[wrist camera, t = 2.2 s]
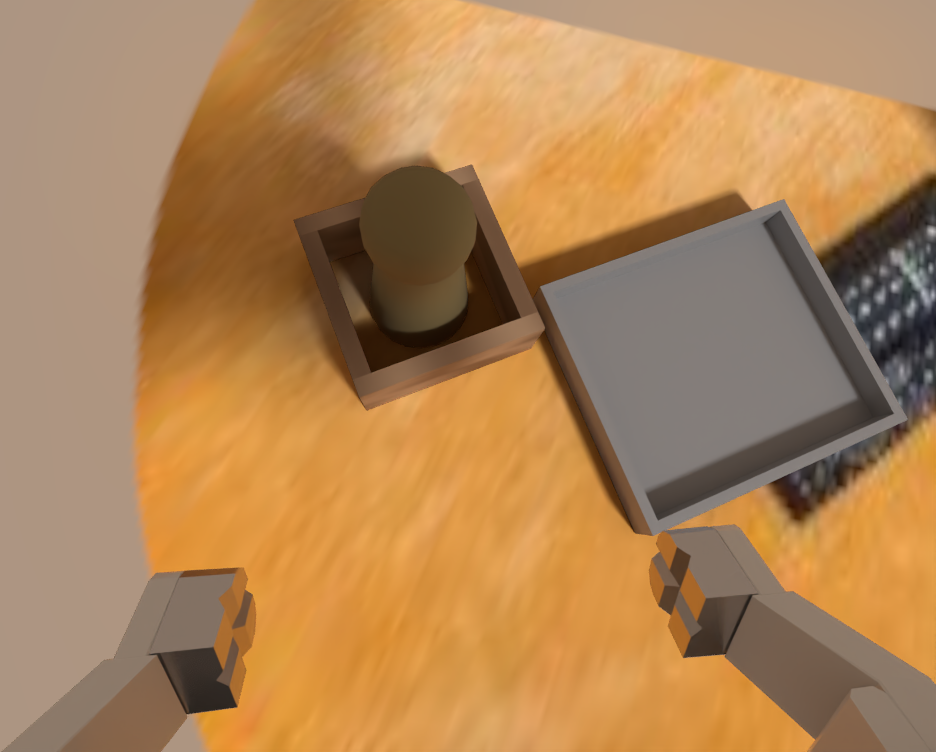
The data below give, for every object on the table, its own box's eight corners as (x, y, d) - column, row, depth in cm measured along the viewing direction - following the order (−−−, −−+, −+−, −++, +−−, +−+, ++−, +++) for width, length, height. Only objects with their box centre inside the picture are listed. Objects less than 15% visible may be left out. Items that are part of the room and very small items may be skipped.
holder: (466, 201, 35) (472, 164, 31) (530, 348, 33) (545, 328, 29) (308, 252, 33) (293, 219, 29) (366, 410, 32) (359, 397, 28)
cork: (385, 244, 34) (369, 125, 23) (478, 269, 34) (505, 164, 23) (356, 333, 32) (325, 250, 22) (454, 359, 33) (470, 290, 22)
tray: (760, 219, 37) (783, 199, 34) (872, 425, 34) (907, 419, 32) (531, 301, 34) (539, 286, 31) (635, 533, 31) (652, 535, 29)
